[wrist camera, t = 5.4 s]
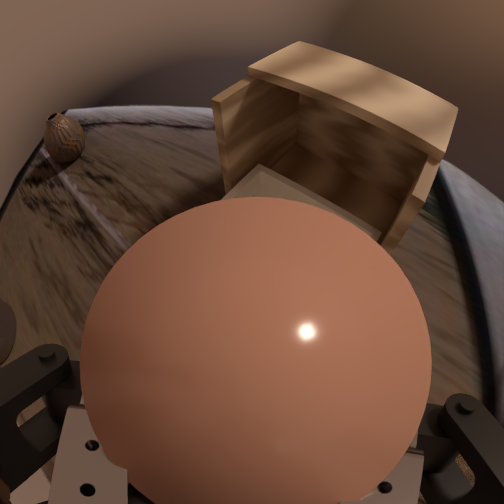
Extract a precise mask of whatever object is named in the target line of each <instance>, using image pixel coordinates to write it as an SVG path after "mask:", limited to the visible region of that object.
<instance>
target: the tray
mask: <svg viewBox="0 0 504 504" xmlns="http://www.w3.org/2000/svg"><path fill="white" fill-rule="evenodd" d="M242 197H273V198H281V199H287V200H294V201H298V202H301V203H305V204H309V205H313V206H316V207H318V208H321V209H323V210H326V211H328V212H331V213H333V214H335V215H337V216H339V217H341V218H343V219H345V220H346V221H348V222H350V223H352V224H353V225H355V226H356V227H358V228H359V229H360V230H362V231H363V232H365V233H366V234H368V235H369V236H370V237H371V238H372V239H373V240H375V241H376V242H377V240H378V238H379V237H380V235H381V233H382V232H381V231H379V230H377V229H376V228H374V227H372V226H371V225H369V224H367V223H366V222H364V221H363V220H361V219H359V218H357V217H356V216H354V215H352V214H351V213H349V212H347V211H346V210H344V209H342V208H340V207H339V206H337V205H335V204H333V203H332V202H330V201H328V200H326V199H325V198H323V197H321V196H319V195H317V194H316V193H314V192H312V191H310V190H308V189H307V188H305V187H303V186H301V185H299V184H297V183H295V182H294V181H292V180H290V179H288V178H286V177H284V176H282V175H280V174H278V173H276V172H274V171H273V170H271V169H269V168H267V167H265V166H263V165H261V164H258V165H257V166H256V167H255V168H253V169H252V170H251V171H250V172H249V173H248V174H247V175H246V176H245V177H244V178H243V179H242V180H241V181H240V182H239V183H238V184H237V185H236V186H235V187H234V188H233V189H232V190H230V191H229V192H228V193H227V194H226V195H225V196H224V197H223V198H222V199H221V200H226V199H232V198H242Z"/></svg>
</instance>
